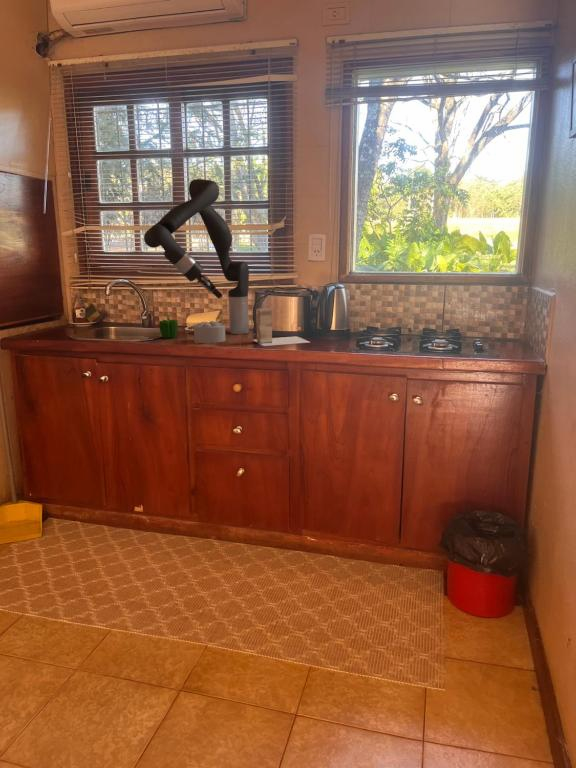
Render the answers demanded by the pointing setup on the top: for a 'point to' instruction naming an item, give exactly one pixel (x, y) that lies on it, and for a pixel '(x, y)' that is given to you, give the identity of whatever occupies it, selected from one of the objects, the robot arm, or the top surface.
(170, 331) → the bell pepper
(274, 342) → the grey mat
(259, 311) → the maple block
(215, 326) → the lumpy-topped squat cylinder
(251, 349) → the top surface
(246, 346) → the top surface
